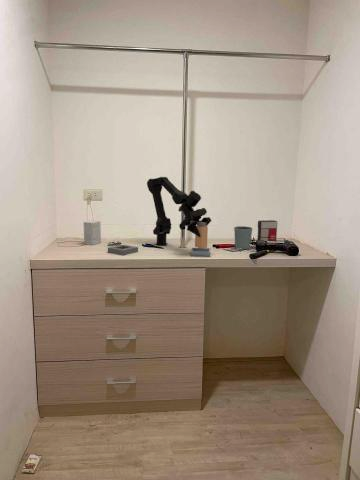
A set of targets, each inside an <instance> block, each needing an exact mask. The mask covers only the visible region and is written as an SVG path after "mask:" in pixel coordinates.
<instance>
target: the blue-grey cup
mask: <svg viewBox="0 0 360 480" xmlns="http://www.w3.org/2000/svg"><path fill="white" fill-rule="evenodd" d="M233 231H234V248H235V247H236V248H242V249H248V250H250V249H251V243H252V234H253V227H251V226H243V225H240V226H239V225H238V226H235V227H234V228H233ZM236 248H235V249H236Z"/></svg>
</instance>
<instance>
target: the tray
mask: <svg viewBox="0 0 360 480" xmlns="http://www.w3.org/2000/svg"><path fill="white" fill-rule="evenodd" d="M211 249H212V248H210V247H209V248H208V247H207V248H198V247H191V249H190V257H200V258H201V257H203V258H211Z"/></svg>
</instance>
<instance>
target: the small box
mask: <svg viewBox="0 0 360 480" xmlns="http://www.w3.org/2000/svg"><path fill="white" fill-rule="evenodd" d="M101 225H102V224H101V221H100V220H87V221H83V244H84V245H87V246H88V245H89V246H94V245H99V244H101V243H102V236H101V235H102V234H101V233H102V232H101V231H102V230H101Z"/></svg>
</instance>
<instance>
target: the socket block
mask: <svg viewBox="0 0 360 480" xmlns="http://www.w3.org/2000/svg"><path fill="white" fill-rule="evenodd" d="M107 253H109V254H112V255H113V254H114V255H118V256H128V255H130V254H136V253H139V247H138V246H133V245H128V244H117V245H115V246H114V245H113V246H108V247H107Z"/></svg>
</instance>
